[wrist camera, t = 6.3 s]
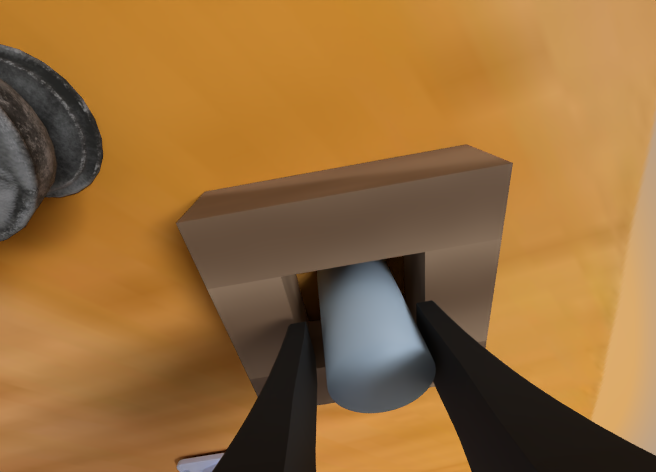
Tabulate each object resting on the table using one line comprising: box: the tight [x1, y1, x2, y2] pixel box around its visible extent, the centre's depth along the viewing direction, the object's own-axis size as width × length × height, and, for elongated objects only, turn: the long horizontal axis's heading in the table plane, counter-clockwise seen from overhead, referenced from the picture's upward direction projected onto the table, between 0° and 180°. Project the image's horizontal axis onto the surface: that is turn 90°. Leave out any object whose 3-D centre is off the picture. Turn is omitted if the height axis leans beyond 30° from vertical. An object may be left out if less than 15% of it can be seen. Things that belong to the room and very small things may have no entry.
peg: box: [317, 259, 436, 413], centre depth 12 cm, size 4×4×6 cm
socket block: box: [176, 145, 513, 405], centre depth 13 cm, size 11×11×3 cm
